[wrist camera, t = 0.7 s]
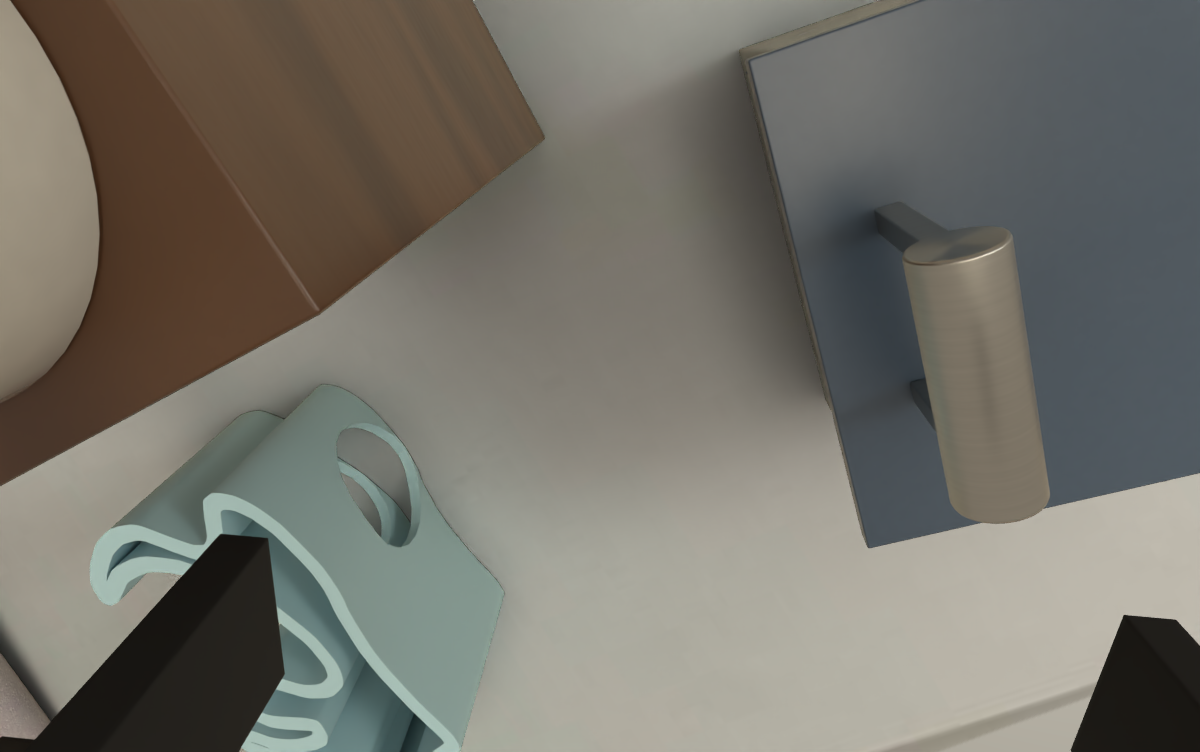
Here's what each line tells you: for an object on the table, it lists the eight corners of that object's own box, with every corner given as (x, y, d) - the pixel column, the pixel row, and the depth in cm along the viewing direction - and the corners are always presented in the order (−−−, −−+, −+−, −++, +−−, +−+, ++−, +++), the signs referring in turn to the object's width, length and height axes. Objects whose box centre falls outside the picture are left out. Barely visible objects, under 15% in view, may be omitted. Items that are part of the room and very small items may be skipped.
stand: (420, -99, 28) (-240, -518, 7) (546, 138, 30) (321, 313, 10) (222, 33, 30) (-719, -7, 9) (357, 243, 32) (-145, 564, 12)
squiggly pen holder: (557, 645, 40) (529, 809, 31) (402, 714, 42) (338, 884, 34) (335, 356, 34) (229, 457, 26) (174, 454, 37) (28, 577, 28)
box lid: (861, 534, 25) (931, 698, 18) (744, 59, 20) (785, 62, 13) (1396, 410, 22) (1689, 553, 16) (1416, -175, 17) (1856, -306, 11)
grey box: (825, 400, 34) (887, 527, 25) (738, 49, 29) (775, 48, 20) (1180, 306, 31) (1395, 410, 22) (1152, -96, 26) (1414, -174, 17)
